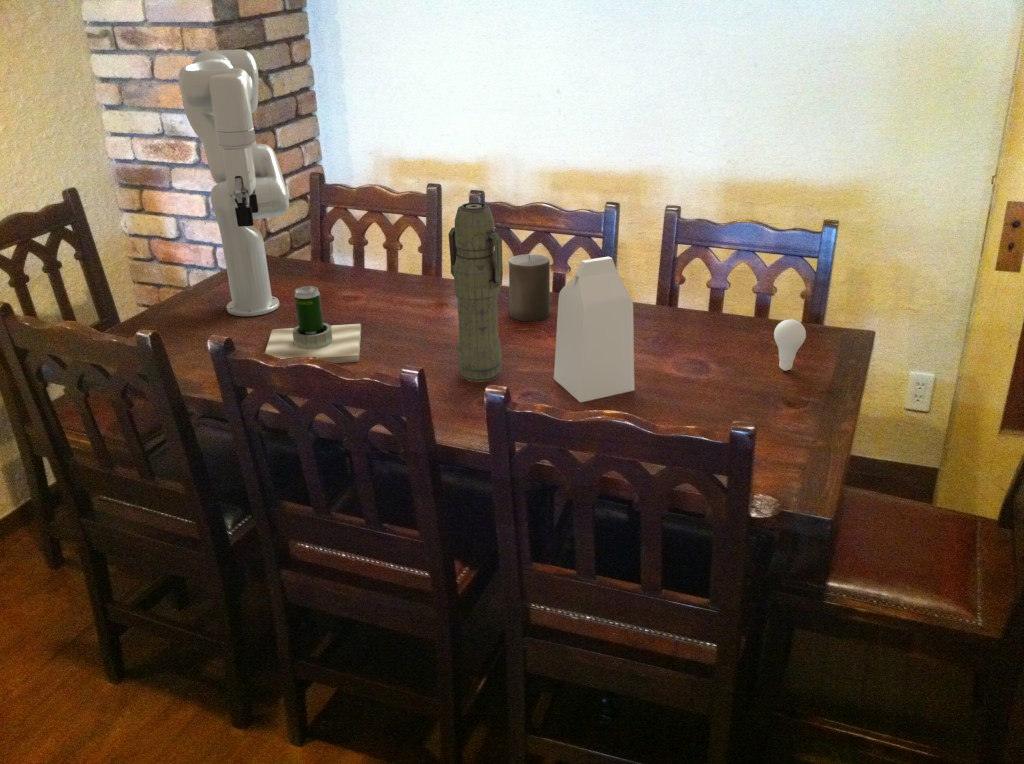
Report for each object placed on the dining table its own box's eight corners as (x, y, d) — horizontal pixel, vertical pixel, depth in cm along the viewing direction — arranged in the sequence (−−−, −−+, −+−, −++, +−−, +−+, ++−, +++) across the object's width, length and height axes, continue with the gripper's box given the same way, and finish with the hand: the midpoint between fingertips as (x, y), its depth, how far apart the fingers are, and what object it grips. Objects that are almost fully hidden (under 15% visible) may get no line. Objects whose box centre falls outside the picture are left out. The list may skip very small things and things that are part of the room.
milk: (580, 402, 166) (582, 273, 154) (553, 378, 175) (554, 255, 164) (634, 390, 170) (640, 263, 158) (605, 368, 179) (609, 247, 168)
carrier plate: (273, 335, 198) (270, 317, 196) (361, 329, 200) (359, 311, 198) (263, 368, 182) (259, 348, 180) (358, 361, 184) (356, 342, 182)
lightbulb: (795, 379, 173) (803, 328, 168) (765, 372, 176) (771, 322, 171) (804, 367, 178) (811, 318, 173) (774, 361, 181) (780, 312, 176)
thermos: (466, 359, 184) (459, 197, 169) (515, 370, 179) (512, 203, 164) (443, 375, 177) (434, 207, 162) (493, 387, 172) (488, 214, 157)
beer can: (327, 344, 189) (320, 292, 184) (302, 347, 188) (294, 295, 183) (323, 335, 194) (317, 284, 189) (299, 338, 192) (292, 287, 187)
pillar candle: (550, 321, 203) (550, 260, 196) (508, 322, 203) (507, 260, 197) (549, 307, 212) (549, 248, 205) (509, 307, 212) (508, 248, 206)
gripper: (223, 130, 184) (235, 208, 192) (211, 147, 169) (224, 232, 177) (259, 128, 185) (270, 207, 193) (250, 146, 170) (262, 230, 178)
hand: (248, 219), depth 185 cm, fingers open, 9 cm apart
